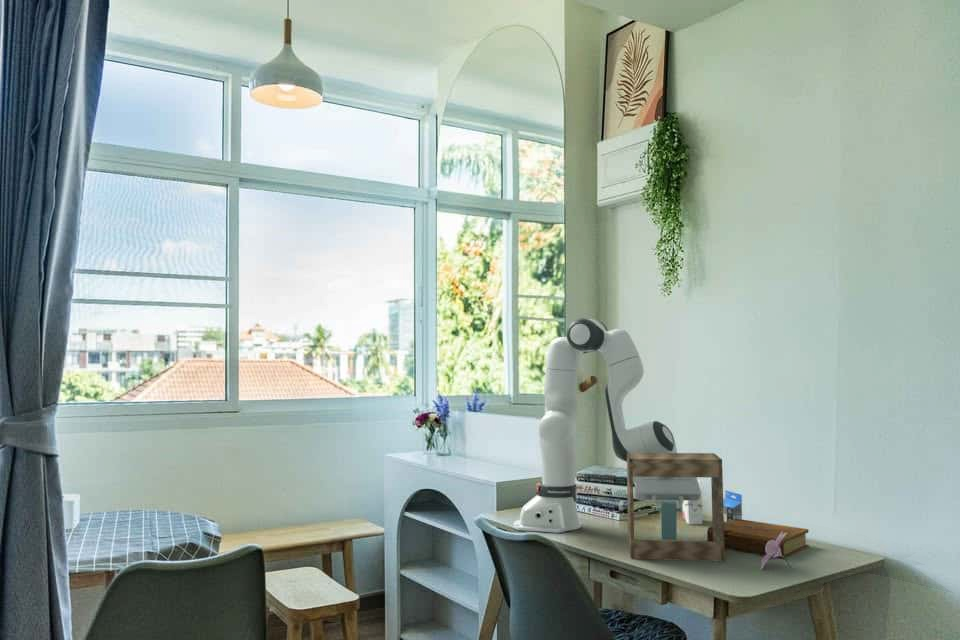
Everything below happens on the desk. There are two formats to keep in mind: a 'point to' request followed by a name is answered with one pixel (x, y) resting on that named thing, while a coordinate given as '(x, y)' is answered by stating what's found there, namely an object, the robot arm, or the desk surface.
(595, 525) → the desk surface
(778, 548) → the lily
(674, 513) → the teal block
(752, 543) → the diary
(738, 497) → the label tape cartridge
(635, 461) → the walnut cubby
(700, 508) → the ink cartridge box
